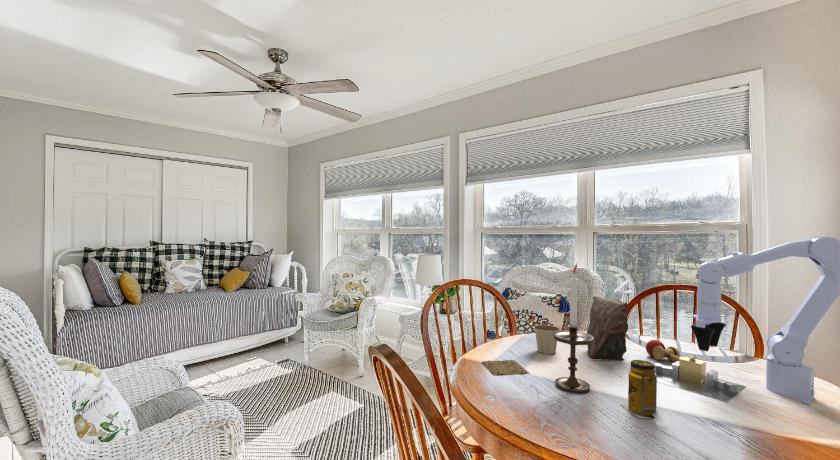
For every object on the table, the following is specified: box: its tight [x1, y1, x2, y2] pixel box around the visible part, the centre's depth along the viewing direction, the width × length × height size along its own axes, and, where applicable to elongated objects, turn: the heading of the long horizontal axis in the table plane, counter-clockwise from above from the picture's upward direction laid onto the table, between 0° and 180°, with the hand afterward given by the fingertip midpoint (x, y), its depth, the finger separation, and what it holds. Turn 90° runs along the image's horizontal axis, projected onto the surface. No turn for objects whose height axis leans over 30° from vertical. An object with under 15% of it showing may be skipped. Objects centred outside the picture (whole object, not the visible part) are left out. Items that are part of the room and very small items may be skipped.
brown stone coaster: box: [481, 359, 530, 376], centre depth 125 cm, size 12×12×1 cm
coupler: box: [679, 356, 707, 384], centre depth 115 cm, size 6×4×6 cm, turn 37°
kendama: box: [645, 339, 682, 363], centre depth 131 cm, size 8×6×18 cm
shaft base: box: [654, 361, 747, 403], centre depth 113 cm, size 21×17×4 cm
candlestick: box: [553, 263, 594, 394], centre depth 110 cm, size 11×11×35 cm
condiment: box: [621, 359, 658, 420], centre depth 96 cm, size 7×8×12 cm
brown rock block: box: [586, 295, 629, 361], centre depth 138 cm, size 13×13×20 cm
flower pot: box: [532, 324, 562, 355], centre depth 141 cm, size 9×9×9 cm
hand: (708, 348), depth 117 cm, fingers open, 7 cm apart
